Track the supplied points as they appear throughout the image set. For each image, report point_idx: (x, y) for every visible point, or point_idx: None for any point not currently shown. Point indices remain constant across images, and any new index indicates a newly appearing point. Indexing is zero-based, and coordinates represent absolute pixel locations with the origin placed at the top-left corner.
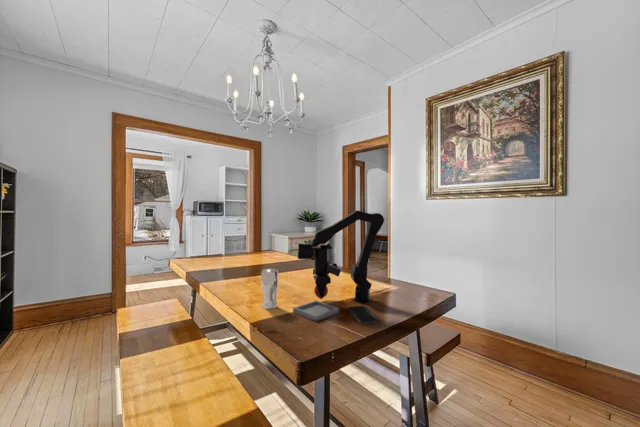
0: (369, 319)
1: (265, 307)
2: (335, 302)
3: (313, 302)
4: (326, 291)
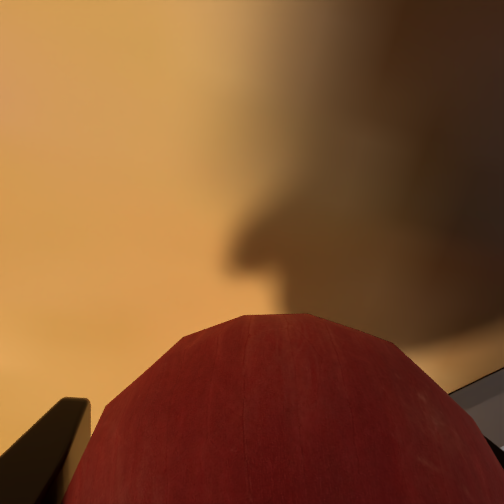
0: None
1: None
2: (408, 45)
3: None
4: (477, 432)
